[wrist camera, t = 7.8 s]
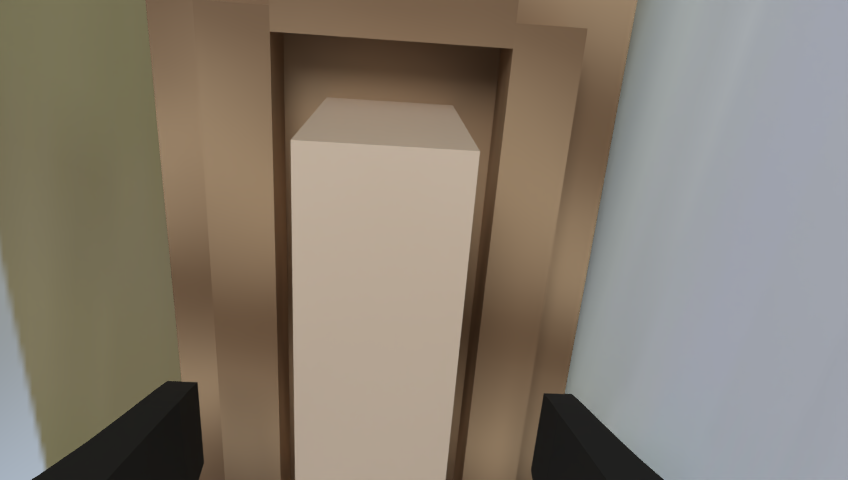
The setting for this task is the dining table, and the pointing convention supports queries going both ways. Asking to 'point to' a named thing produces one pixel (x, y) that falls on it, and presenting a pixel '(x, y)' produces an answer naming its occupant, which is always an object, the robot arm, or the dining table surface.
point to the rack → (271, 195)
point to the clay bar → (378, 286)
